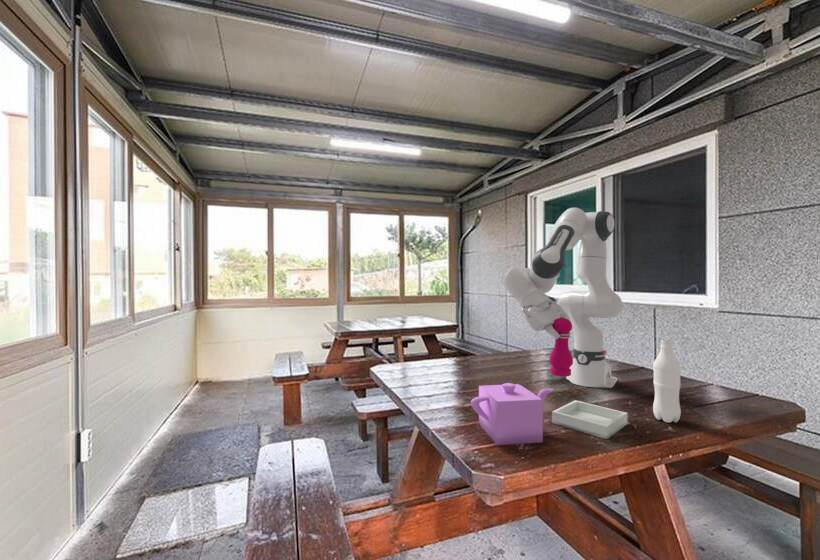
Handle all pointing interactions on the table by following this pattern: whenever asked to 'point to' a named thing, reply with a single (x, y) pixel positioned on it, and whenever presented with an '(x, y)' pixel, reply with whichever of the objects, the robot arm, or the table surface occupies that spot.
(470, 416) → the table surface
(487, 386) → the teapot
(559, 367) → the pepper mill
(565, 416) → the tray
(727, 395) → the table surface
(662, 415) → the water bottle
